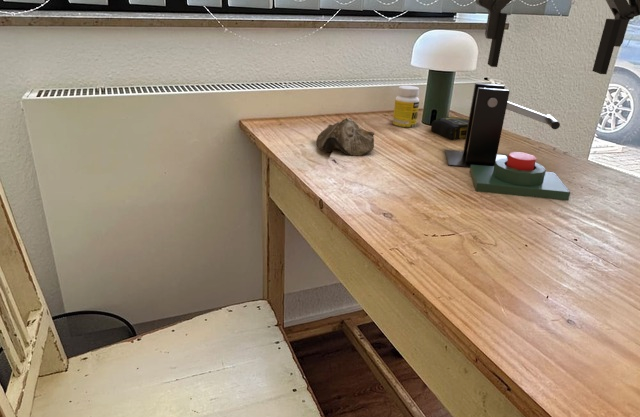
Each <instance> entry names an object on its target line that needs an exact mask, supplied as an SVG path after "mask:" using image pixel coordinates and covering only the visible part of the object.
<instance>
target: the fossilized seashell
mask: <svg viewBox="0 0 640 417" xmlns="http://www.w3.org/2000/svg"><path fill="white" fill-rule="evenodd" d="M317 135H318V136H317V138H316V143H315V145H316V146H315V147H316V148H317V150H319V151H324V152H328V153H329V152H330V153H333V151H341V152H342V153H343V154H345V155H347V156H349V157H363V156H367V154H369V153H370V152H372V150H374V148H375V138H374V136H375V132H373V131H369V130H366V129H363V128H361V127H360V126H359V125H358V123H357V122H356V121H354V120H353V119H352V118H350V117H345V118H344V119H342V120H340V121H338V122H335V123H334V124H328V125H327V127H326V128H324V129H323V130H322V131H321V132H320V133H319V134H317Z"/></svg>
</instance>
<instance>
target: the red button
mask: <svg viewBox="0 0 640 417" xmlns="http://www.w3.org/2000/svg"><path fill="white" fill-rule="evenodd" d="M507 158H508V160H507V164H506V166H508V167H510V168H514V169H518V170H526V171H529V170H534V166H535V163H537V162H536V161H537V157H536V156H535V155H533V154H530V153H527V152H520V151H513V152H509V153H508V155H507Z"/></svg>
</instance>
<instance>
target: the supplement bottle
mask: <svg viewBox="0 0 640 417" xmlns="http://www.w3.org/2000/svg"><path fill="white" fill-rule="evenodd" d="M397 94H398V95H397V96H395V99H394V108H393V117H392V125H393V126H395V127H398V128H406V129H411V128H415V127H417V122H418V114H419V109H420V108H419V107H420V98H419V97H418V96H419V94H420V88H419V87H418V86H414V85H400V86H398V90H397Z"/></svg>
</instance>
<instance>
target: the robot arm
mask: <svg viewBox="0 0 640 417" xmlns="http://www.w3.org/2000/svg"><path fill="white" fill-rule="evenodd" d="M510 2H512V0H475V3H476V5H477V6H479V7H482V8H484V9H485V10H487V13H488V15H487V20H486V26H485V32H484V36H485V38H486V39H487V40H489V39H490V40H491V42H490V47H489V48H490V49H489V53H488V59H487V65H488V66H490V67H491V68H498V65H499V60H500V56H501V55H500V54H501V50H502V44H503V38H504V33H505V30H506V29H505V28H506V22H507V18H508V13H506V12H502V10H503V9H504V8H506V6H508V5H509V3H510ZM605 2H606V3H607V6H608V7H609V9H610V11H611V13H612V15H613V17H614V18H605V22H604V26H603V28H602V29H603V30H602V34H601V37H600V40H599V44H598V48H597V52H596V55H595V59H594V63H593V67H592V72H594V73H596V74H600V75H607V73H608V70H609V66H610V63H611V60H612V57H613V52H614V49H615V47H617V48H620V47H621V46H622V44H623V43H624V39H625V37H626V33H627V29H628V26H629V22H630V21H631V20H633V19H634V18H635V17H639V16H640V0H605Z"/></svg>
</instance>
